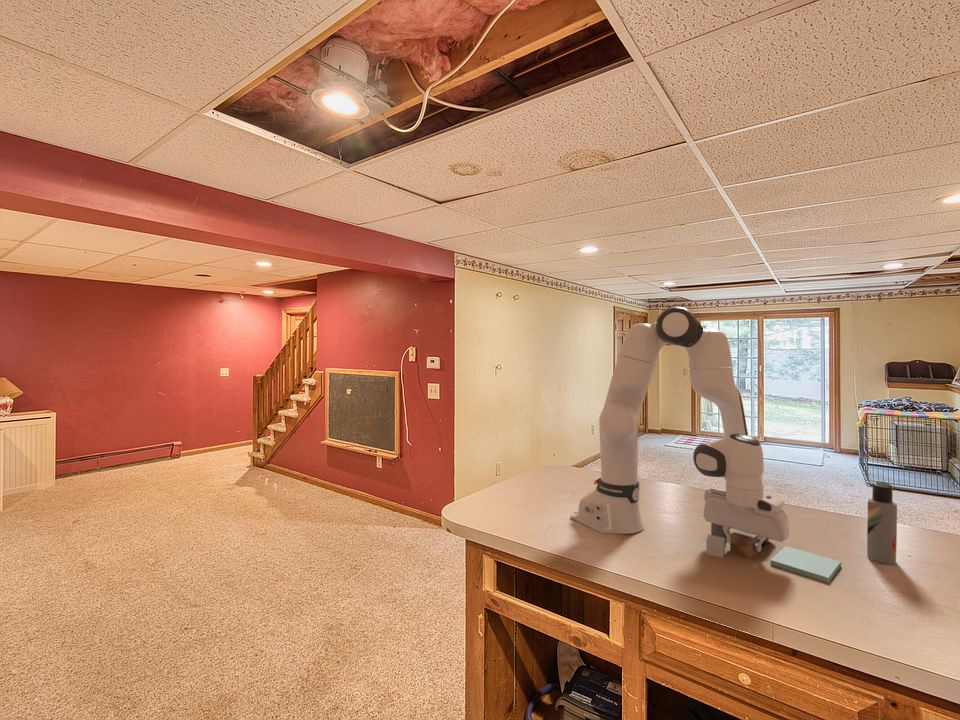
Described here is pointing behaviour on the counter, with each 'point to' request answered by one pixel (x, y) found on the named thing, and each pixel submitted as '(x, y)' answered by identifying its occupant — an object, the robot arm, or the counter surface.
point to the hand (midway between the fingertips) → (743, 546)
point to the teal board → (806, 563)
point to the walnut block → (743, 544)
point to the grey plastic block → (715, 546)
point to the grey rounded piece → (718, 531)
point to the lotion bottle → (882, 525)
